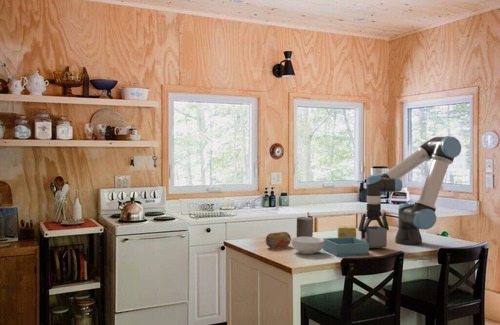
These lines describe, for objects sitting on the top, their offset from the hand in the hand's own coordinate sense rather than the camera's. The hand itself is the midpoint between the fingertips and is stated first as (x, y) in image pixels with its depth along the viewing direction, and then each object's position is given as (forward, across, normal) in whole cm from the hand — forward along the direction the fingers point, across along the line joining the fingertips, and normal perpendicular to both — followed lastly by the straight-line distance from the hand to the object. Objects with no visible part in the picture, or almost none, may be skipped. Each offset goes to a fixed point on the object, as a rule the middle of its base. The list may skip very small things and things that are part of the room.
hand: (373, 243), depth 266 cm
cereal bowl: (+2, +40, +2) cm, 40 cm away
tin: (+2, +50, -15) cm, 53 cm away
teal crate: (+2, +20, +5) cm, 20 cm away
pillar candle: (+3, +30, -29) cm, 41 cm away
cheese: (+3, +8, -16) cm, 18 cm away
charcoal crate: (+1, 0, 0) cm, 1 cm away
